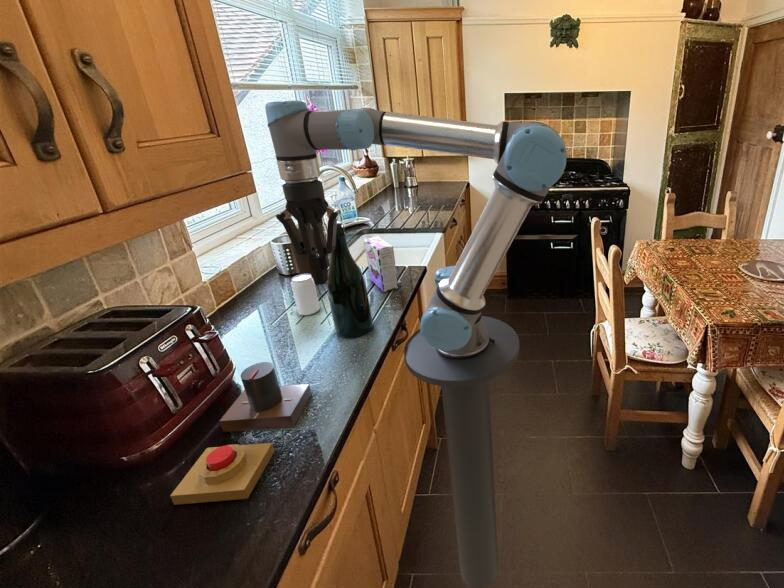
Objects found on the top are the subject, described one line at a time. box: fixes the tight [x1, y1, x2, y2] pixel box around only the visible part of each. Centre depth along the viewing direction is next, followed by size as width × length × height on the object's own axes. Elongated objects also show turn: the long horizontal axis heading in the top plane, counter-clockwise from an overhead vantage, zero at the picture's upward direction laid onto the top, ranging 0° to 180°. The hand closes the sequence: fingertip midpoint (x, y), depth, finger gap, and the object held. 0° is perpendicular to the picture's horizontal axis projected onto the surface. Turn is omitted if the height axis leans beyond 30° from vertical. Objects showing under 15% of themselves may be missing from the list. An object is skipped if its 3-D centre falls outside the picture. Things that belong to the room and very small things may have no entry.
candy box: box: [363, 235, 399, 293], centre depth 145 cm, size 14×6×16 cm, turn 37°
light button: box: [206, 444, 236, 471], centre depth 71 cm, size 4×4×2 cm
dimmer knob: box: [240, 361, 282, 411], centre depth 85 cm, size 6×6×8 cm
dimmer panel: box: [218, 383, 313, 433], centre depth 87 cm, size 14×10×3 cm
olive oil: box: [290, 220, 329, 285], centre depth 148 cm, size 11×11×25 cm
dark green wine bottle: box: [326, 220, 374, 339], centre depth 113 cm, size 10×10×33 cm
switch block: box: [169, 442, 275, 506], centre depth 72 cm, size 12×10×4 cm
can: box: [290, 273, 321, 317], centre depth 128 cm, size 6×6×12 cm
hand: (323, 281), depth 92 cm, fingers closed
